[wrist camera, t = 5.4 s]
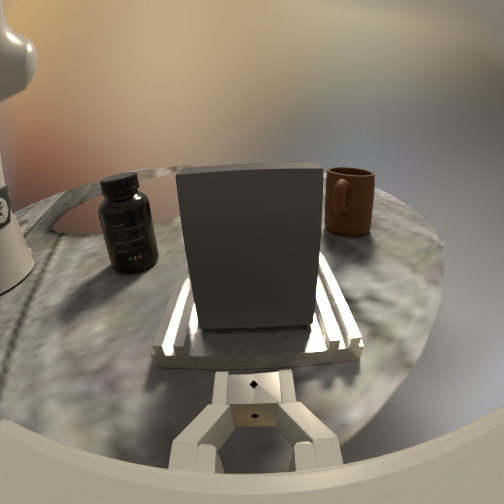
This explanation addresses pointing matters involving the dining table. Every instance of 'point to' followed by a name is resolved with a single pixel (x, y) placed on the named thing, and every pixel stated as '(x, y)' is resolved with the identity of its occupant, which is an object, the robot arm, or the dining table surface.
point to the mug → (349, 201)
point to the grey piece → (257, 334)
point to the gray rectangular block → (252, 242)
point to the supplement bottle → (127, 224)
